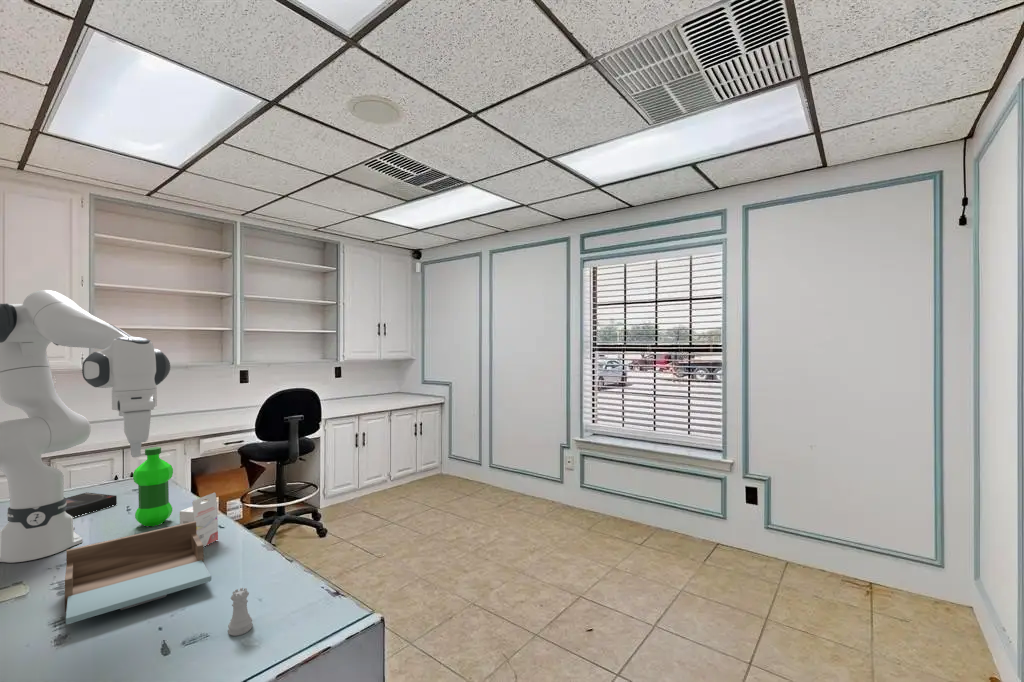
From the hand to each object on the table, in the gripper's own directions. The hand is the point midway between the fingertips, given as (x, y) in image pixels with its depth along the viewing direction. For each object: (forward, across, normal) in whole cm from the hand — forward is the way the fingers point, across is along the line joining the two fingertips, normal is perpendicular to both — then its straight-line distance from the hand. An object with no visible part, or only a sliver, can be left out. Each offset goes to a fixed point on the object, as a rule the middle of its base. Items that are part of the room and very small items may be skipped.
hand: (135, 456), depth 118 cm
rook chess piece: (+31, +42, +14) cm, 54 cm away
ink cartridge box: (+31, -13, +15) cm, 37 cm away
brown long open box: (+31, +1, 0) cm, 31 cm away
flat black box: (+32, -82, -13) cm, 89 cm away
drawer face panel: (+28, +8, 0) cm, 29 cm away
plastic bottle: (+31, -45, +7) cm, 55 cm away
